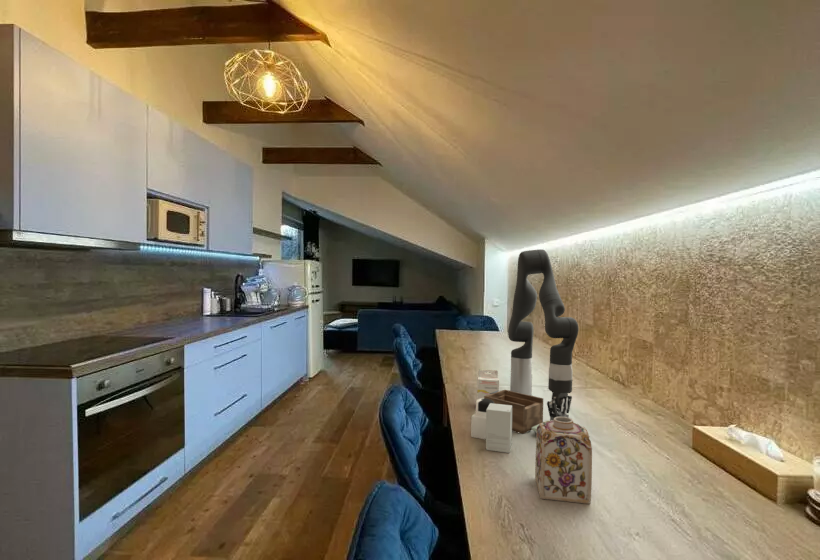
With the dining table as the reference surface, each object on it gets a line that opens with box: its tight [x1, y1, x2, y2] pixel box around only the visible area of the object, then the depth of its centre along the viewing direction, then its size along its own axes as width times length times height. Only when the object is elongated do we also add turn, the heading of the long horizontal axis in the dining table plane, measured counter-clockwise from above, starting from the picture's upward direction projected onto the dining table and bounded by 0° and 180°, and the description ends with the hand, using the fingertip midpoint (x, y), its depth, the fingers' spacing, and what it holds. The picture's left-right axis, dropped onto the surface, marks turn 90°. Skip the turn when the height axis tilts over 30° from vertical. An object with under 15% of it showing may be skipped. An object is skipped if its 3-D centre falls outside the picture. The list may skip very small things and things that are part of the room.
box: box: [484, 389, 544, 435], centre depth 158 cm, size 14×16×10 cm
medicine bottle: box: [470, 398, 494, 440], centre depth 145 cm, size 7×7×12 cm
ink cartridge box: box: [476, 369, 500, 400], centre depth 178 cm, size 9×5×15 cm, turn 84°
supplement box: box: [485, 403, 513, 454], centre depth 135 cm, size 7×7×13 cm
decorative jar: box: [534, 417, 593, 505], centre depth 109 cm, size 12×12×18 cm
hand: (559, 428), depth 146 cm, fingers closed on lid, 3 cm apart
